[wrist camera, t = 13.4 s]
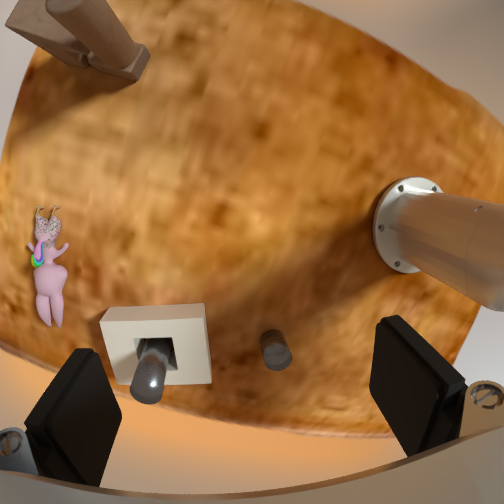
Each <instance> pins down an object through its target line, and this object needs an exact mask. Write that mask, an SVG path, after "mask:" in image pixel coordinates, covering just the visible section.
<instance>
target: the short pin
mask: <svg viewBox="0 0 504 504" xmlns="http://www.w3.org/2000/svg"><path fill="white" fill-rule="evenodd" d="M260 346H261V350H262V354H263V358H264V361H265V365H266V366H267V367H268V368H269V369H271V370H274V371H279V370H283V369H285V368H286V367H288V366H289V365H290V363H291V361H292V355H291V352H290V350H289V347H288V345H287V342H286V340H285V337H284V335H283V334H282V332H280V331H278V330H268V331H266V332H265V333H263V334H262V336H261V337H260Z"/></svg>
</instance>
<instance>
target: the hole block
mask: <svg viewBox="0 0 504 504" xmlns="http://www.w3.org/2000/svg"><path fill="white" fill-rule="evenodd" d="M99 322H100V326H101V330H102V334H103V337H104V341H105V345H106V348H107V352H108V355H109V359H110V362H111V366H112V369H113V372H114V375H115V378H116V381H117V384H118V385H131V383H132V380H133V377H134V374H135V371H136V368H137V365H138V362H139V360H140V357H141V354H142V351H143V348H144V346H145V343H144V338H163V337H172V340H173V345H174V351H175V353H170V358H169V362H168V367H167V372H166V377H165V382H164V385H185V384H208V383H212V364H211V357H210V349H209V341H208V332H207V324H206V315H205V306H204V303H193V304H176V305H156V306H132V307H109V309H108V310H107V312H106V313H105V314H104V316H103V317H102V319H101V320H100V321H99Z"/></svg>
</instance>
